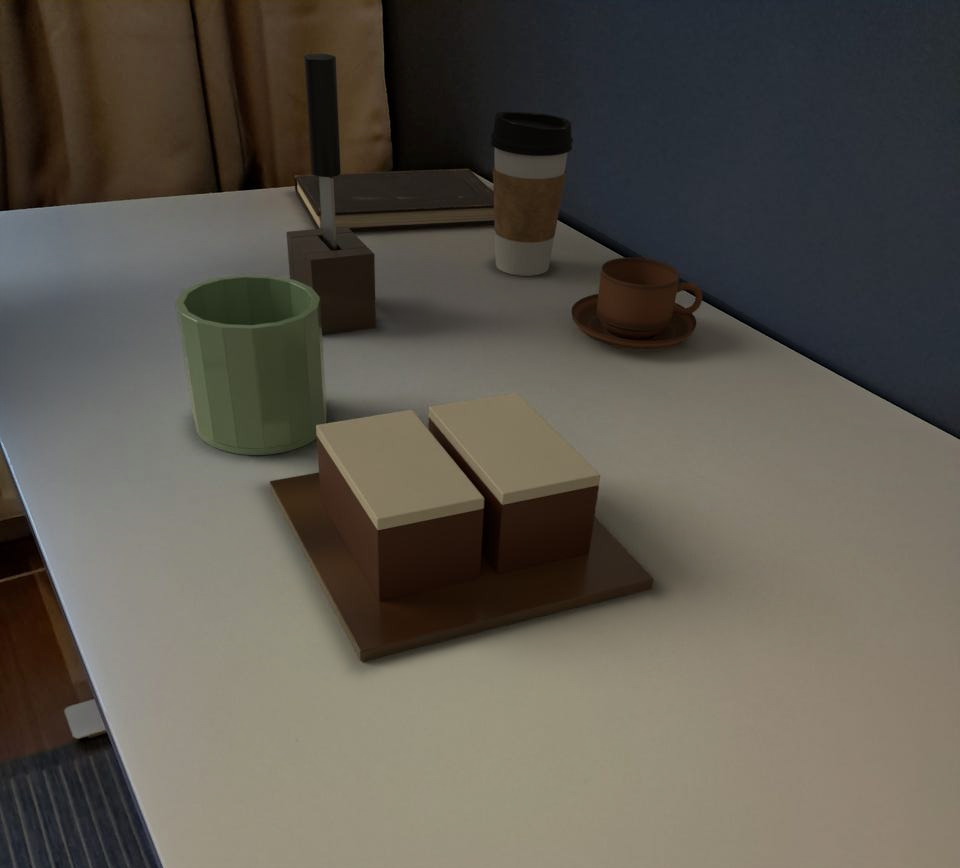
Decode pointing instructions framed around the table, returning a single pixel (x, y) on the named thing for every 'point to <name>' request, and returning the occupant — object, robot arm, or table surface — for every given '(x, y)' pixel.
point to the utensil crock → (253, 362)
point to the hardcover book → (401, 199)
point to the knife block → (336, 277)
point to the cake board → (455, 605)
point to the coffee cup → (528, 188)
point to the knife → (323, 135)
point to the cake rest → (400, 503)
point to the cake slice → (520, 480)
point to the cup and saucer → (637, 306)
